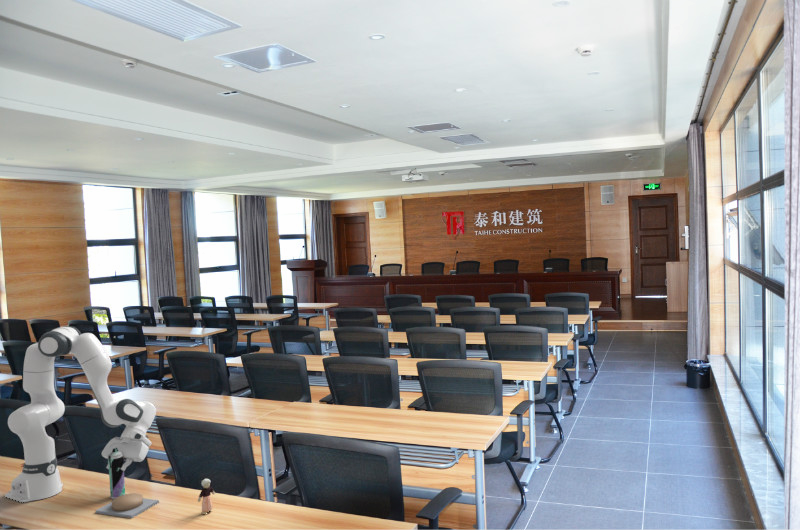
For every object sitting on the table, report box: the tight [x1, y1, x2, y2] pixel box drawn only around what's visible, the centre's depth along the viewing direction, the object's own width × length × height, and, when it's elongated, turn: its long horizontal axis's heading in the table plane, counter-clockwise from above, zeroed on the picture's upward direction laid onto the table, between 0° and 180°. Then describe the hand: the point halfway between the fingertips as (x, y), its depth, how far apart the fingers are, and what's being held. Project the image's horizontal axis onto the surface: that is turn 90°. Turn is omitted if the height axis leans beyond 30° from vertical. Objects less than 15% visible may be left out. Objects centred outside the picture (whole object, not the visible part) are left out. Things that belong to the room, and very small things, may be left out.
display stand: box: [95, 492, 160, 519], centre depth 235 cm, size 18×14×4 cm
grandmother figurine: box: [197, 478, 216, 515], centre depth 227 cm, size 8×4×13 cm, turn 160°
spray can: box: [107, 448, 126, 500], centre depth 246 cm, size 6×6×20 cm
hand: (115, 469), depth 246 cm, fingers closed on spray can, 5 cm apart
